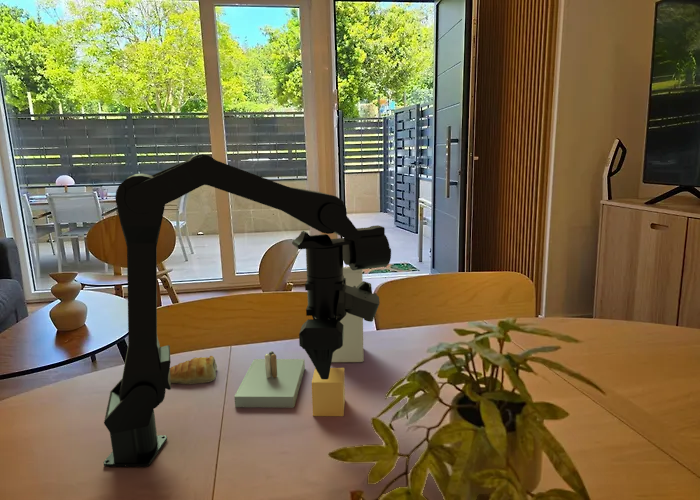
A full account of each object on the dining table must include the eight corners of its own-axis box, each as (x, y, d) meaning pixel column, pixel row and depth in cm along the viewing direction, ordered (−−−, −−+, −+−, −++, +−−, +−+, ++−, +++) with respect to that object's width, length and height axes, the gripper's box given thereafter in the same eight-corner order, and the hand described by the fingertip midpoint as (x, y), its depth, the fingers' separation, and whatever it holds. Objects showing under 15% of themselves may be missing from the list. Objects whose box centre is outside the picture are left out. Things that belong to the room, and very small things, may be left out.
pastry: (163, 390, 84) (161, 371, 84) (168, 373, 91) (166, 355, 90) (216, 383, 87) (215, 364, 86) (217, 367, 93) (216, 349, 92)
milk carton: (363, 362, 93) (362, 272, 89) (328, 363, 93) (325, 272, 89) (363, 347, 100) (362, 263, 96) (330, 348, 100) (328, 263, 96)
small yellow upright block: (343, 416, 75) (342, 382, 73) (312, 416, 75) (311, 382, 74) (344, 399, 80) (344, 367, 78) (316, 399, 80) (315, 367, 78)
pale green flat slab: (293, 407, 78) (292, 371, 76) (235, 407, 78) (232, 371, 76) (304, 368, 91) (303, 337, 90) (254, 368, 92) (252, 337, 90)
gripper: (377, 291, 63) (377, 395, 66) (375, 259, 81) (375, 341, 84) (296, 291, 63) (300, 394, 67) (312, 259, 81) (314, 341, 85)
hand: (327, 365), depth 76 cm, fingers open, 9 cm apart
